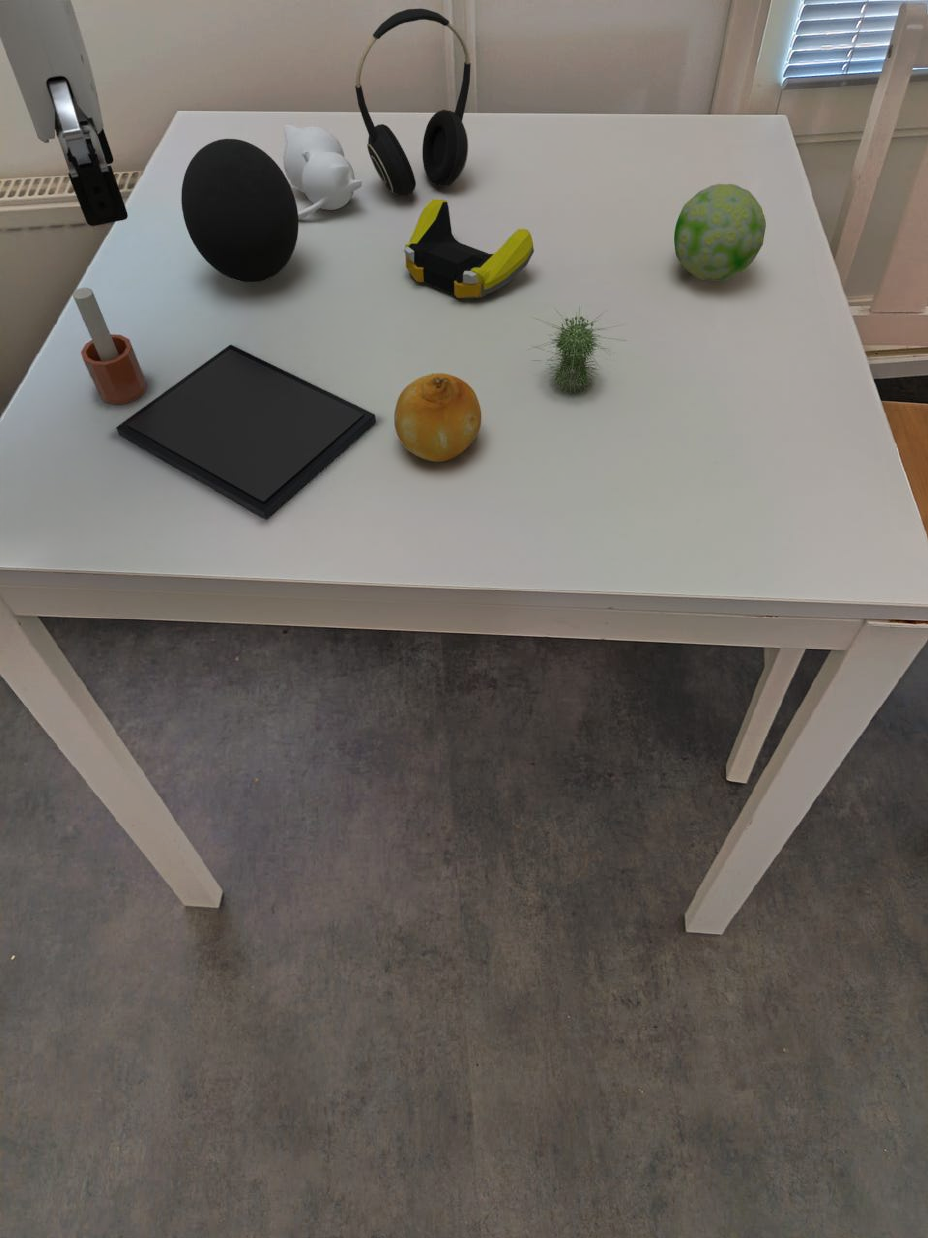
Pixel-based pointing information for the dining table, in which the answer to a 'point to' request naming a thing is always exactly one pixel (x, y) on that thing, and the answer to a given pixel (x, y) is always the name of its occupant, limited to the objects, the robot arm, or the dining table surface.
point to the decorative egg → (239, 210)
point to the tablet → (247, 429)
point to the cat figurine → (318, 168)
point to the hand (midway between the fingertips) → (101, 191)
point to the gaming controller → (461, 256)
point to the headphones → (442, 133)
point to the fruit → (437, 417)
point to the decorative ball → (719, 232)
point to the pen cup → (115, 372)
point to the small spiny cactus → (574, 352)
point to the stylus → (95, 324)
